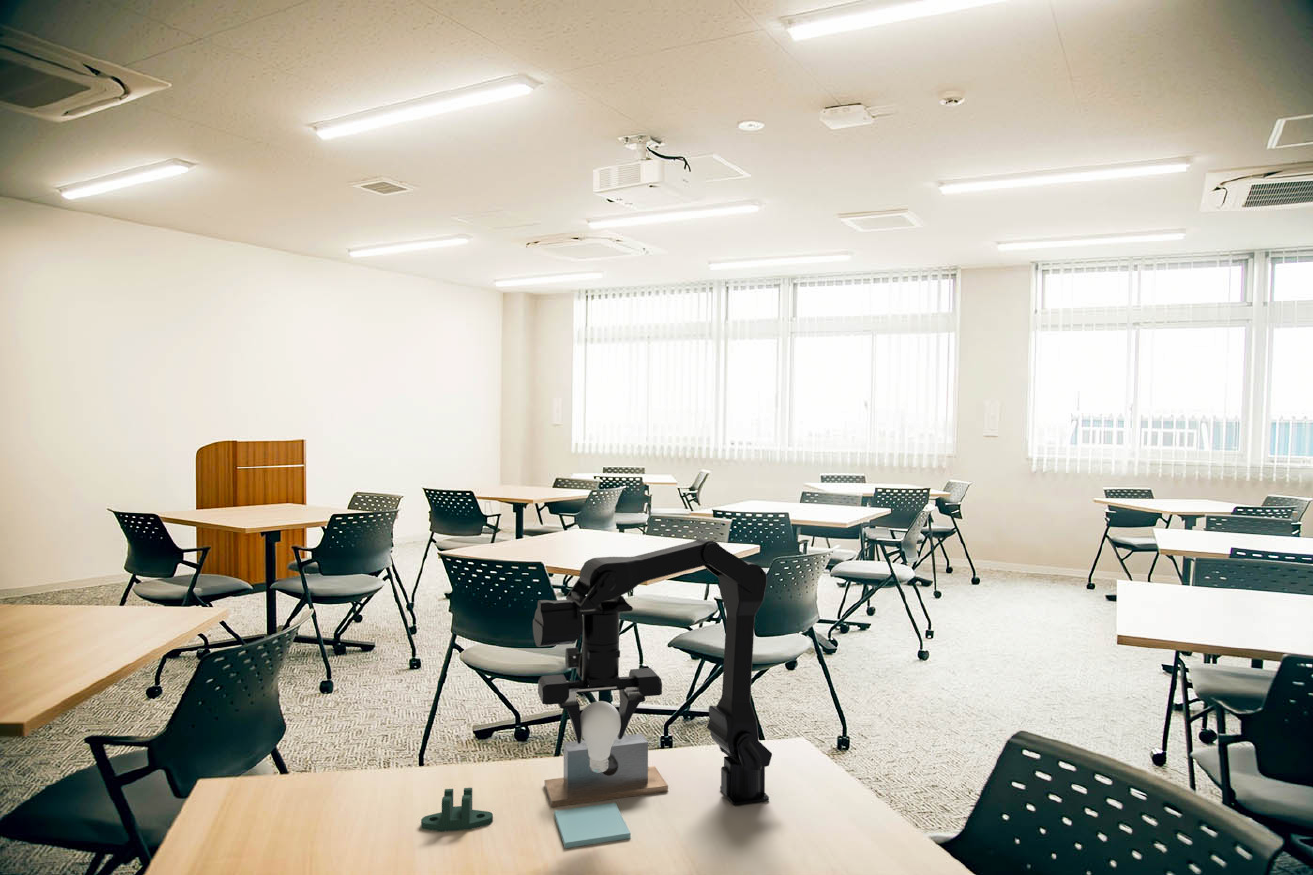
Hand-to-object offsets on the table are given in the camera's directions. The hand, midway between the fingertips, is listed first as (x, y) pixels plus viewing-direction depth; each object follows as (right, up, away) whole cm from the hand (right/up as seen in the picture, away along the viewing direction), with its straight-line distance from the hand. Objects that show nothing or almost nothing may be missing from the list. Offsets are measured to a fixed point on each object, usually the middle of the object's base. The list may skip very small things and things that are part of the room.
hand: (599, 740), depth 120 cm
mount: (-22, -14, +1) cm, 26 cm away
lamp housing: (0, -13, +13) cm, 18 cm away
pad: (-1, -13, 0) cm, 13 cm away
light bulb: (0, -5, 0) cm, 5 cm away
